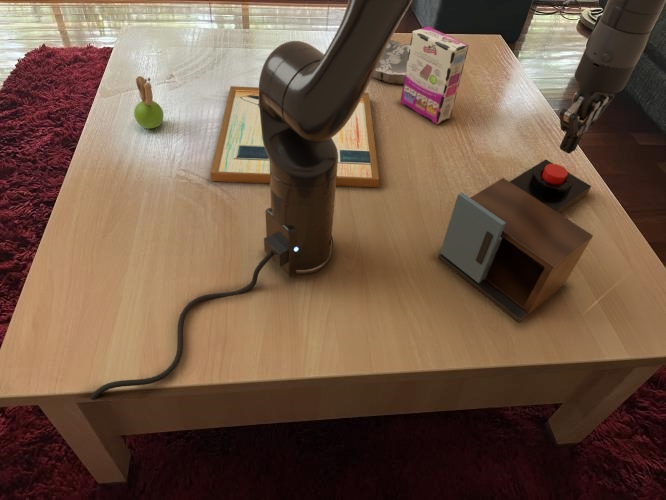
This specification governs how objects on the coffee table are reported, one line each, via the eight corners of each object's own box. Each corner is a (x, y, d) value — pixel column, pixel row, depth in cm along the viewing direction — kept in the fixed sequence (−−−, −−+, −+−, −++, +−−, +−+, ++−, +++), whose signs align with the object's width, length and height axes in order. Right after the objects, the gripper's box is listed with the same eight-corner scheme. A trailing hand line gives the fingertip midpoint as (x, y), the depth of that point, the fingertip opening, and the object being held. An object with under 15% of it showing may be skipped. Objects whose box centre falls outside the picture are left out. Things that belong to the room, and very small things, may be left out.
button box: (550, 221, 93) (558, 204, 90) (504, 191, 98) (511, 174, 95) (586, 195, 98) (595, 178, 96) (542, 168, 103) (549, 151, 101)
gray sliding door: (477, 284, 80) (501, 225, 71) (438, 253, 84) (456, 194, 75) (481, 281, 81) (506, 222, 72) (443, 250, 85) (461, 191, 76)
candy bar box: (451, 118, 114) (470, 44, 102) (436, 125, 112) (454, 51, 100) (413, 96, 120) (427, 24, 108) (398, 102, 117) (411, 30, 105)
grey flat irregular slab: (439, 63, 131) (441, 52, 129) (419, 94, 120) (421, 82, 118) (366, 45, 136) (367, 33, 134) (340, 73, 125) (341, 61, 123)
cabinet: (518, 322, 77) (544, 273, 69) (437, 258, 85) (453, 207, 77) (564, 284, 83) (593, 235, 75) (484, 227, 91) (503, 177, 83)
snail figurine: (145, 139, 102) (132, 82, 93) (133, 123, 105) (119, 67, 97) (172, 131, 104) (161, 75, 96) (158, 116, 108) (147, 60, 99)
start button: (556, 187, 94) (559, 180, 92) (537, 176, 96) (540, 168, 94) (568, 179, 95) (572, 172, 94) (549, 168, 97) (553, 160, 96)
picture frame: (368, 92, 116) (379, 179, 95) (367, 100, 117) (377, 187, 96) (230, 86, 114) (210, 172, 93) (231, 93, 115) (211, 181, 95)
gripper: (611, 34, 83) (568, 128, 96) (565, 54, 77) (526, 152, 89) (656, 53, 80) (605, 148, 92) (611, 76, 73) (563, 174, 86)
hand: (566, 150), depth 91 cm, fingers closed
